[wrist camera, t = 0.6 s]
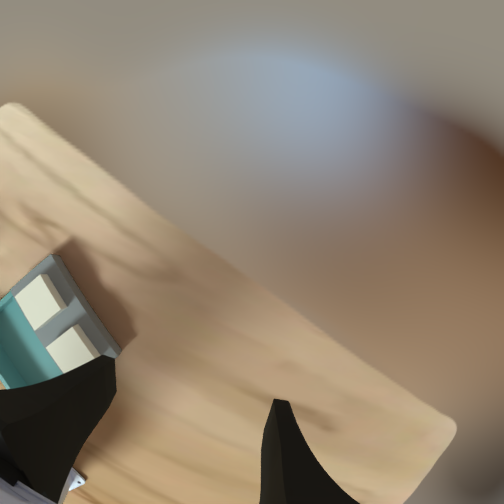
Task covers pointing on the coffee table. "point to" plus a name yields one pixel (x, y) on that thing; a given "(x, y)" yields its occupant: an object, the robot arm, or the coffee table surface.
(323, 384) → the coffee table surface
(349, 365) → the coffee table surface
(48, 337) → the grey flat block
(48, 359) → the box
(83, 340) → the tile
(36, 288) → the tile
